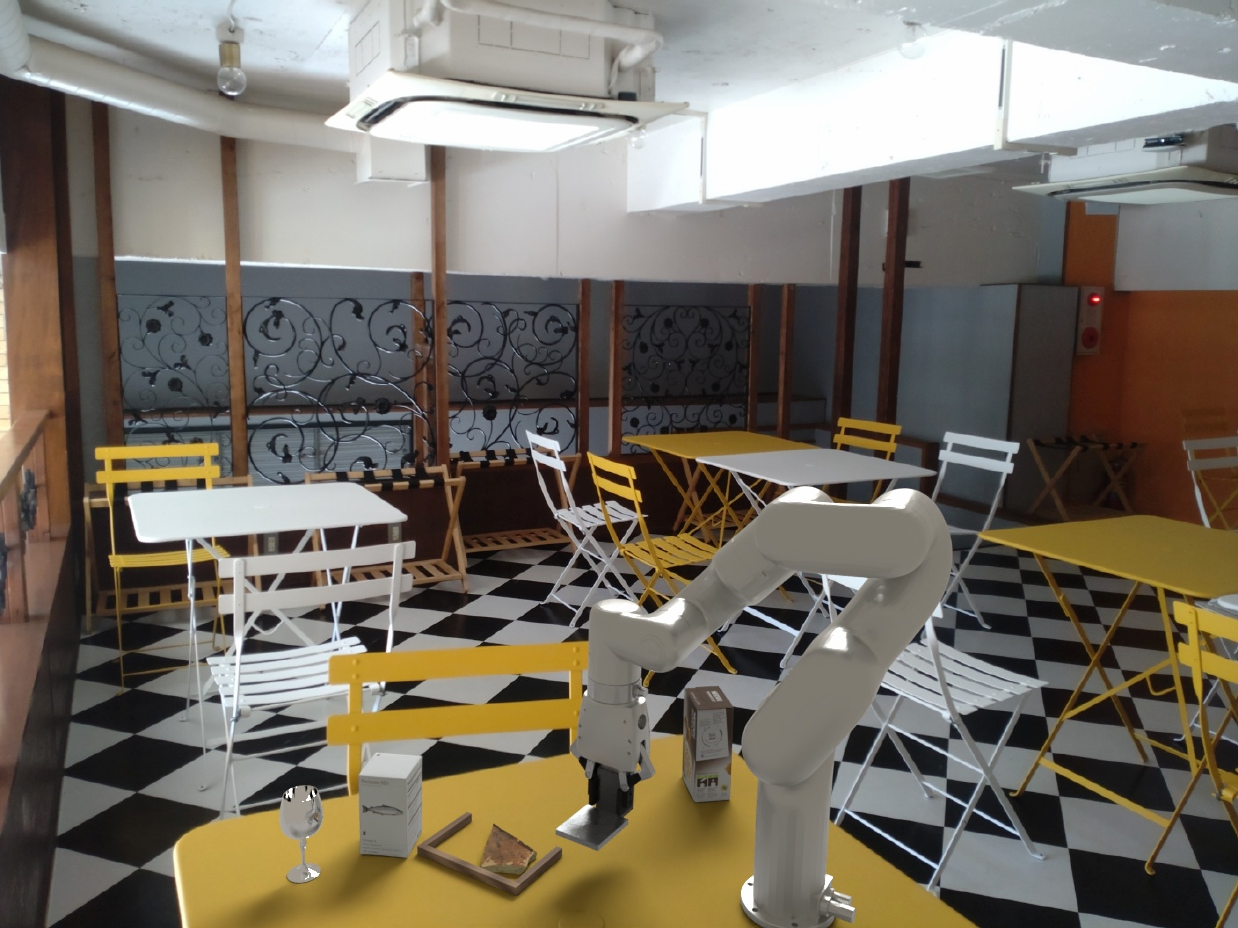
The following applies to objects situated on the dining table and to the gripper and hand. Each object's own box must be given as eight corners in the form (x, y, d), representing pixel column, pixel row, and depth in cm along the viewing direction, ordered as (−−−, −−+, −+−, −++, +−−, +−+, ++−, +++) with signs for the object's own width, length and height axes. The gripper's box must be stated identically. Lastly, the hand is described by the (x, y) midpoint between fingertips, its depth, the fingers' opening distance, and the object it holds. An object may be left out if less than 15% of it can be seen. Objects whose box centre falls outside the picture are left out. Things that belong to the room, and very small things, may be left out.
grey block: (601, 797, 138) (603, 753, 137) (642, 811, 135) (644, 767, 133) (555, 834, 128) (556, 787, 127) (597, 851, 124) (599, 803, 123)
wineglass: (280, 888, 125) (276, 807, 123) (283, 863, 131) (280, 785, 129) (324, 882, 127) (321, 801, 125) (326, 858, 132) (323, 781, 130)
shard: (493, 832, 141) (493, 821, 140) (543, 834, 140) (543, 823, 140) (478, 875, 130) (478, 863, 130) (532, 877, 130) (532, 866, 129)
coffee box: (731, 800, 150) (735, 707, 147) (693, 803, 149) (697, 710, 146) (716, 772, 159) (719, 684, 156) (680, 775, 158) (682, 686, 155)
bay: (562, 855, 134) (562, 848, 134) (515, 895, 125) (515, 887, 125) (467, 818, 143) (466, 811, 143) (417, 853, 134) (417, 845, 134)
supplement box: (358, 855, 133) (355, 774, 131) (377, 827, 141) (375, 750, 138) (407, 859, 133) (405, 778, 130) (424, 831, 140) (422, 753, 138)
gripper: (678, 692, 129) (673, 812, 132) (579, 665, 138) (576, 778, 141) (652, 711, 123) (647, 837, 126) (550, 681, 131) (547, 800, 134)
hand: (609, 804), depth 133 cm, fingers closed on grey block, 4 cm apart
